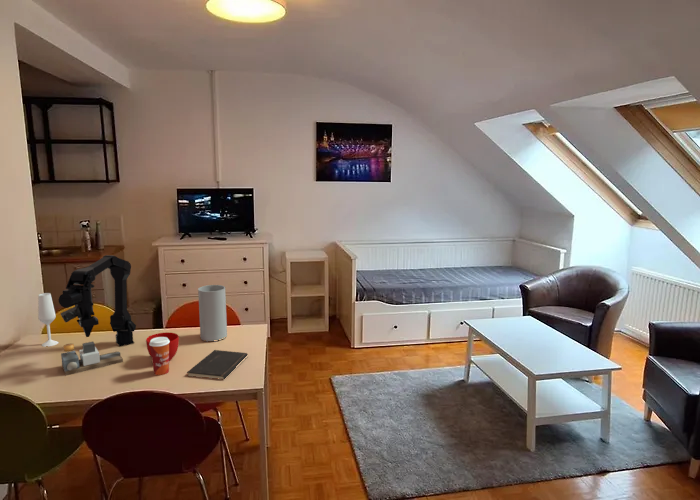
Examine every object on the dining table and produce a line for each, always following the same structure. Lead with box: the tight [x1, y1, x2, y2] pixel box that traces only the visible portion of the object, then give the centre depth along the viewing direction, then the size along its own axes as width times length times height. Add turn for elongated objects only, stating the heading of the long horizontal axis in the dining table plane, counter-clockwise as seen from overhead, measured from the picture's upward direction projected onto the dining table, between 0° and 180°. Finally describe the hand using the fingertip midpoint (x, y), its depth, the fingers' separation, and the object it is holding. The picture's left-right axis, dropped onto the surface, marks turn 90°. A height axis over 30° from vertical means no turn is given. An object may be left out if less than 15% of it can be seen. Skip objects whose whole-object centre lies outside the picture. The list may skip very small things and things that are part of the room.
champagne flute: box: [37, 292, 59, 348], centre depth 211 cm, size 7×7×24 cm
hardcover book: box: [186, 349, 249, 380], centre depth 192 cm, size 16×23×2 cm
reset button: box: [62, 343, 75, 353], centre depth 185 cm, size 4×4×2 cm
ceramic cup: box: [145, 332, 180, 362], centre depth 198 cm, size 13×17×10 cm
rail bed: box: [60, 350, 124, 376], centre depth 191 cm, size 21×10×6 cm, turn 129°
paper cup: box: [149, 337, 170, 376], centre depth 184 cm, size 8×8×14 cm
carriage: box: [78, 341, 100, 366], centre depth 190 cm, size 6×8×8 cm
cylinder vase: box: [197, 284, 228, 342], centre depth 221 cm, size 12×12×25 cm
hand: (87, 336), depth 189 cm, fingers closed
